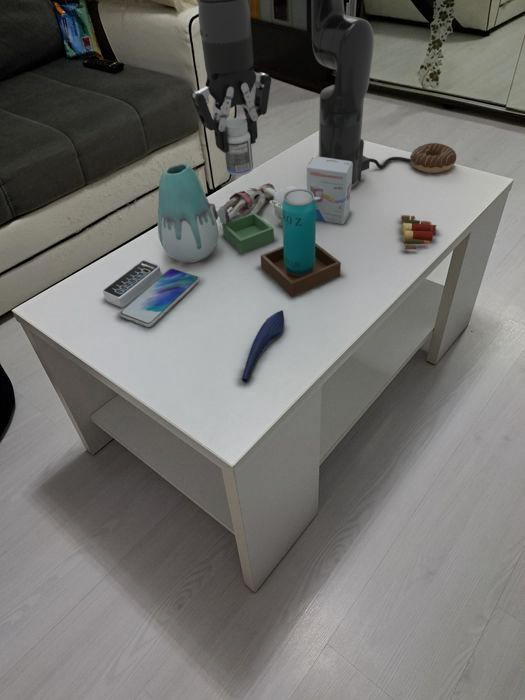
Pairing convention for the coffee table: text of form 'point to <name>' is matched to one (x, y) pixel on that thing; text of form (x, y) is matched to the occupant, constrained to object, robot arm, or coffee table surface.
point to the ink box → (330, 187)
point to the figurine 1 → (243, 203)
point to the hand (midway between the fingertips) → (237, 146)
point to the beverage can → (299, 231)
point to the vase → (185, 215)
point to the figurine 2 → (280, 200)
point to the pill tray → (248, 232)
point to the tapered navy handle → (263, 340)
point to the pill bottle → (238, 147)
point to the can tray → (294, 285)
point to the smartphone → (159, 297)
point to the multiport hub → (132, 283)
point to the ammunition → (416, 231)
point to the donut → (433, 157)
